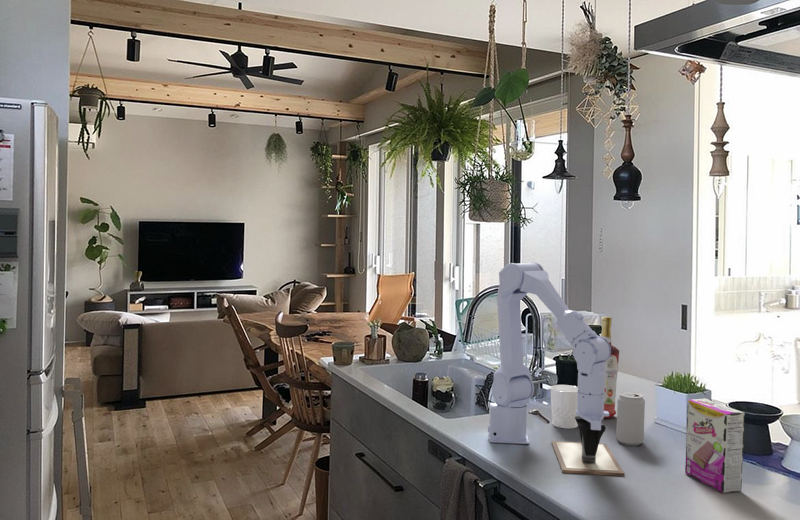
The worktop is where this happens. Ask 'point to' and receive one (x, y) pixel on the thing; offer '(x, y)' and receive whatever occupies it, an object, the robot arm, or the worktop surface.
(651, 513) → the worktop surface
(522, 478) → the worktop surface
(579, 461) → the writing board
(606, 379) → the liquor
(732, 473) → the candy bar box
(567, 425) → the white cup
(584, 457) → the grey yellow rounded cylinder
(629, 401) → the beverage can
